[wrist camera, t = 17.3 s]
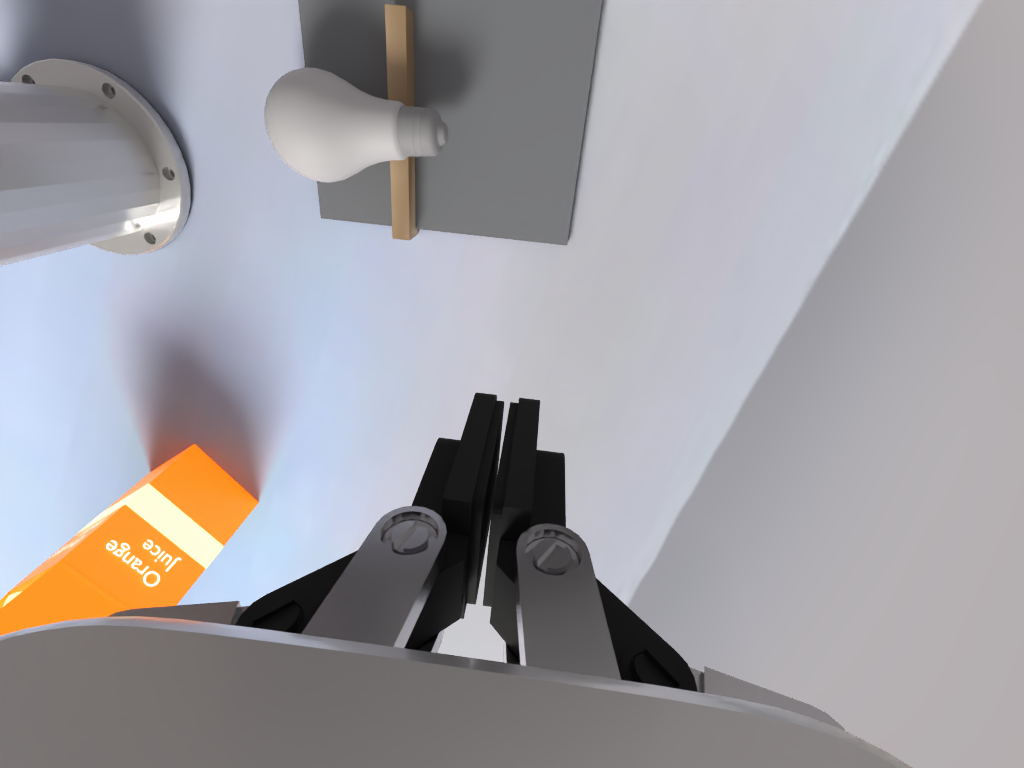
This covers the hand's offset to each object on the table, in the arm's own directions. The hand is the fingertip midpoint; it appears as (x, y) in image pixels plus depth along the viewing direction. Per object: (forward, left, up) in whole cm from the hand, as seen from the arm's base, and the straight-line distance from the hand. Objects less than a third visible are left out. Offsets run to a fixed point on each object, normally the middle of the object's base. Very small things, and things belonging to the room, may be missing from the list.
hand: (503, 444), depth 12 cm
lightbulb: (-6, +6, -21) cm, 23 cm away
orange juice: (-32, -29, -25) cm, 50 cm away
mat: (-7, +7, -25) cm, 27 cm away
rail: (-10, +6, -25) cm, 28 cm away
